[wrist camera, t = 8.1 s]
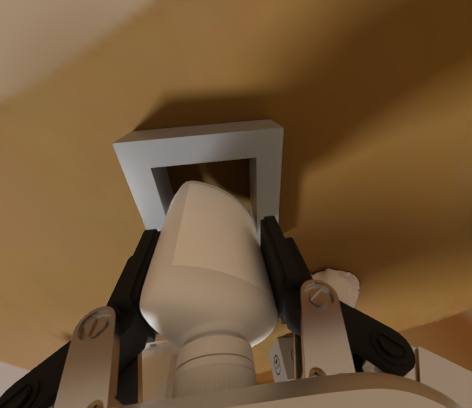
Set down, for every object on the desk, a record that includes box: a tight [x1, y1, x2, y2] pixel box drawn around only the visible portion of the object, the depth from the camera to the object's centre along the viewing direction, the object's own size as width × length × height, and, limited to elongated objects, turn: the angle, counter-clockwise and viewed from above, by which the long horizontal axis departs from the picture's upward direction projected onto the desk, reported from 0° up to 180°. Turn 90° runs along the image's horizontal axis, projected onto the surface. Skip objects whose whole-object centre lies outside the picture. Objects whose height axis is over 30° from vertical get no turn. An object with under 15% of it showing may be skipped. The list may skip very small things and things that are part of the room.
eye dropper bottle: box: [140, 181, 278, 398], centre depth 9 cm, size 4×6×12 cm
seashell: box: [311, 268, 360, 308], centre depth 23 cm, size 10×6×10 cm
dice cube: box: [269, 337, 295, 383], centre depth 29 cm, size 5×5×5 cm
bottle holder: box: [112, 119, 284, 243], centre depth 15 cm, size 11×9×3 cm
